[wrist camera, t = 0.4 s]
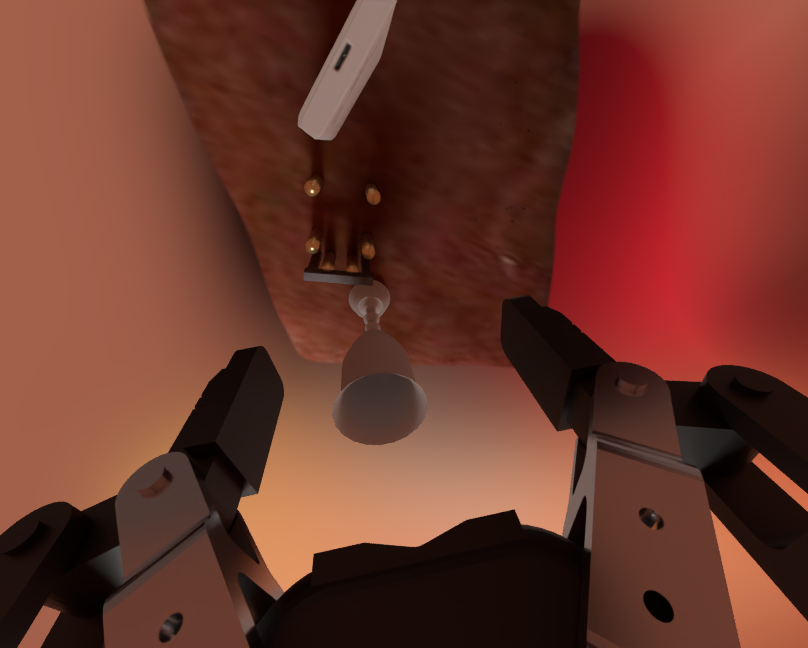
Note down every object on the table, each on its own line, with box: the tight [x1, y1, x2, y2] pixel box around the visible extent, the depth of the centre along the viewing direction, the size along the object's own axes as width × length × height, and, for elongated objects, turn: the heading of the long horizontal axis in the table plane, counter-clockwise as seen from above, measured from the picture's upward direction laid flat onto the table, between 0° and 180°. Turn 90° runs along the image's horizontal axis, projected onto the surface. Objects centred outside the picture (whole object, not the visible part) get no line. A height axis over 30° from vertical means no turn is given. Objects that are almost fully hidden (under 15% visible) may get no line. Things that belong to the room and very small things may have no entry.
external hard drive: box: [298, 0, 397, 140], centre depth 21 cm, size 2×8×12 cm, turn 142°
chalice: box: [333, 280, 427, 445], centre depth 29 cm, size 7×7×18 cm
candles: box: [304, 175, 381, 286], centre depth 29 cm, size 9×6×6 cm
